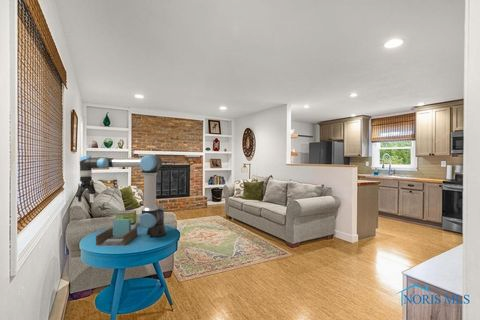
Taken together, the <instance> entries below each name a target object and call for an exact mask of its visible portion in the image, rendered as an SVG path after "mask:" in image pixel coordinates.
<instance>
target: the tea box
mask: <svg viewBox="0 0 480 320" xmlns="http://www.w3.org/2000/svg"><path fill="white" fill-rule="evenodd" d="M115 219H131V230H132V229H134V228H135V227H137V210H136V209H132V210H131V209H129V210H118V211H117V212H116V213H115Z"/></svg>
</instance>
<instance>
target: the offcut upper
mask: <svg viewBox="0 0 480 320" xmlns="http://www.w3.org/2000/svg"><path fill="white" fill-rule="evenodd" d="M103 243H104V244H122V243H123V239H107V240H106V241H104V242H103Z"/></svg>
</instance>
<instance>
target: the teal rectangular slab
mask: <svg viewBox="0 0 480 320" xmlns="http://www.w3.org/2000/svg"><path fill="white" fill-rule="evenodd" d="M112 221H113V225H112V226H113V237H123V236H124V235H125V234H127V233H128V232H130V231H131V230H132V229H131V219H116V218H115V219H113V220H112Z"/></svg>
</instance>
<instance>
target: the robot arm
mask: <svg viewBox="0 0 480 320" xmlns="http://www.w3.org/2000/svg"><path fill="white" fill-rule="evenodd" d="M162 166H163V160H162V157H160V156H159V155H157V154H156V155H155V154H154V155H153V154H147V155H144V156H142V157H106V158H104V157H100V158H99V157H97V158H93V157H92V155H81V156H80V157H79V176H80V177H79V181H80V182H81V183H78V187H77V190H76V193H75V197H76V198H77V202H78V203H77V205H78V207H82V206H83V203H84V200H83V194H84V192H85V190H86V189H87V190H88V192H89V193H90V194H89V203H95V194H96V193H97V191H96V188H95V185H94V181H92V180H93V179H92V178H93V177H92V175H93V173H92V170H93V169H106V168H140V169H141V173H142V175H143V207H142V208H141V215H140V216H139V220H138V221H139V225H140V226H141V227H142V228H145V229H147V231H146V236H148V237H149V238H161V237H163V236H166V235H167V230H166V227H165V210H164V209H165V208H164V206H161V205H160V206H159V205H157V174H159V169H160V168H161V167H162Z"/></svg>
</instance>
